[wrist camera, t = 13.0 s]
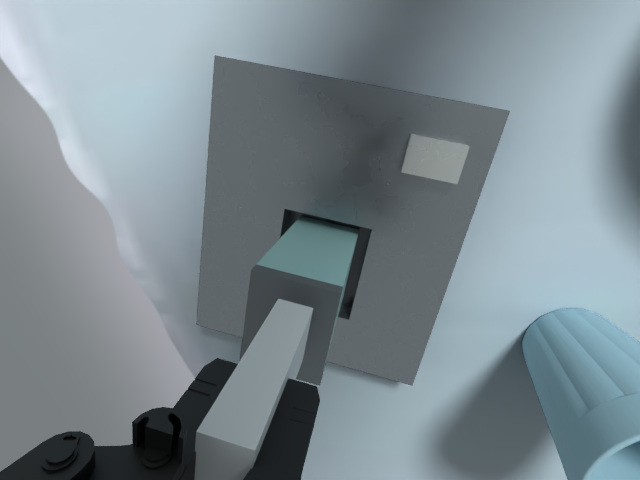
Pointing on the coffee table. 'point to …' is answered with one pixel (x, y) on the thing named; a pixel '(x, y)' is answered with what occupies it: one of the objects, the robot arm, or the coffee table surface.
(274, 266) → the plug
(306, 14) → the coffee table surface
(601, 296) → the coffee table surface
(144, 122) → the coffee table surface
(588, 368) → the cup
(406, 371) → the socket plate
